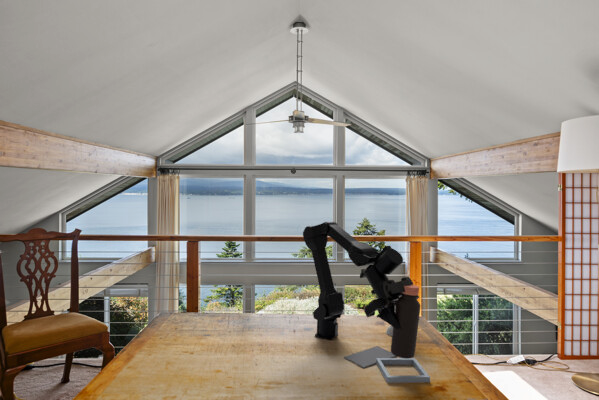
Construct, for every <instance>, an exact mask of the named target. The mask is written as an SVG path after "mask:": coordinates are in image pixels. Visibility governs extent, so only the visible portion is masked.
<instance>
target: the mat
mask: <svg viewBox="0 0 599 400" xmlns="http://www.w3.org/2000/svg"><path fill="white" fill-rule="evenodd" d="M343 358H344V359H345V358H346V359H345V360H347V361H349V362H351V363H353V364H354V363H355V365H356V364H357V366H358V367H360V368H362V369H366V368H369V367H372V366H375V365H377V364H376V358H397V356H395V355H393V354H392V353H391V351H389V350H387V349H385V348H383V347H381V346H379V345H375V346H373V347H370V348H367V349H364V350H361V351H358V352H357V351H356V352H355V353H351V354H349V355H345V356H343Z"/></svg>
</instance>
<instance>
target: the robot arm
mask: <svg viewBox="0 0 599 400" xmlns="http://www.w3.org/2000/svg"><path fill="white" fill-rule="evenodd" d="M302 237H303V241H304V243H305V245H306V247H307V248H308V249H309V251H311V254H312V258H313V263H314V267H315V272H316V276H317V277H316V278H317V282H318V287H319V297H318V299H317V305H318V306H317V308H315V310H313V312H312V315H313V319H315V320H316V333H315V334H314V337H317V338H321V339H326V340H332V341H333V339H334V338H336V337H337V336H338V335H339V323H338V319H340V318H341V317H342V313H343V312H344V311H345V302H344V298H343V293H342V292H341V291H340V292H338V291H337V290H336V288H335V286H334V285H335V284H334V282H333V276H332V273H331V269H330V268H331V267H330V262H329V257H328V254H327V250H326V247H327V245H328V241H329V239H328V237H329V238H330V239H332V240H333V241H334V242H335V243H337V244H338V246H340V247H341V248H343V249H344V250H345V251H346V252H347V254H348V258H349V259H350V261H351V262H352V263H353V264H354V265H355V266H357V267H364V266H367V267H366V268H362V269H360V273H359V278H360V279H365V278H366V280H367V282H368V283H369V284H370V287H371V288H372V290H371V291H370V293H371V295H375V296H376V297H377V298H375V299H372V300H371V301H370V302H369V303H367V305H365V307H364V311H363V312H364V314H365V315H366V318H370V317H374V316H375V315H376V312H378V314H377V315H376V318H377V319H378V318H379V319H380V320H382V321H384V322H385V323H386V324H389V326H393V327H394V328H395V329H402V328H401V326H400V324H399V322H398V318H397V316H396V314H395V306H396V301H397V300H398V299H399V296H401V295H402V294H401V293H402V292H405V288H404V286H409V285H414V282H413V281H412V279H411V278H410V276H405V277H401V279H400V280H399V281H395V280H393V279H389V277H388V276H387V275H391V274H392V273H393V272H394V271H395V270H396V269H398V267H400V265H402V264H403V262H404V259H403V256H402V254H401V253H400V252H399V251H398V250H396V249H394V248H392V247H391V245H384V246H383V248H382V249H381V251H377V249H376V248H375V247H373V246H371V245H369V244H367V243H364V242H360V241H359V240H357V239H356V238H355V237H353V235H351V234H350V233H348V231H346V230H345V229H343V228H342V227H341V226H340V225H338V223H337V222H335V221H324V222H322V223H319V224H317V225H306V227H305V228H304V230H303V231H302ZM418 299H420V296H419V295H418V297H417V300H418ZM394 302H395V303H394ZM402 331H403V330H402Z"/></svg>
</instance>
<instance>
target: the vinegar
mask: <svg viewBox="0 0 599 400" xmlns="http://www.w3.org/2000/svg"><path fill="white" fill-rule="evenodd" d="M404 288H405V292H402V293H401V294H402V295H401V297H400V298H399V299H398V300H397V301H396V308H395V314H396V316H397V318H398V322H399V324H400V326H401V328H402V329H395V328H394V327H393V334H392V336H391V345H390V352H391V353H392V354H393V355H395V356H397V357H398V358H415V355H416V348H417V340H418V339H417V336H418V329H419V320H420V312H421V303H420V302H419V300H418V299H417V297H418V296H419V291H420V287H419V285H416V284H413V285H409V286H404ZM402 330H403V331H402ZM397 357H396V358H397Z"/></svg>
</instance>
